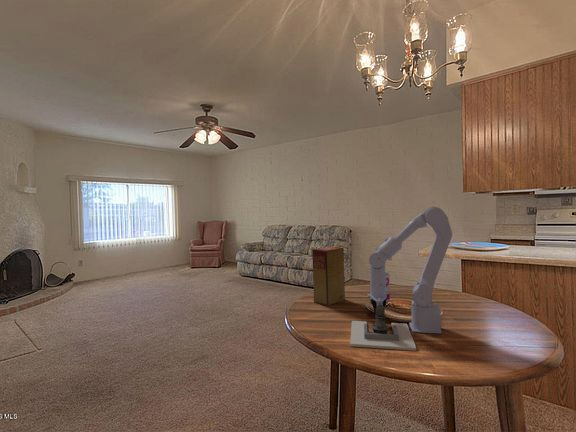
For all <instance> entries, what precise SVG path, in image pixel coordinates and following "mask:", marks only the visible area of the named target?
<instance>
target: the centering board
mask: <svg viewBox="0 0 576 432" xmlns="http://www.w3.org/2000/svg"><path fill="white" fill-rule="evenodd" d="M408 325H409V324H407V323H403V322H401V323H399V322H391V325H390V326H391V328H392V332H393V333H387V334H381V333H374V332H368V324H367V321H361V320H351V329H350V341H349V342H350V343H349V345H350V347H357V348H358V347H359V348H360V347H361V348H370V349H371V348H372V349H386V350H398V351H399V350H401V351H412V352H416V351H417V347H416V346H417V345H416V344H415V341H414V338H413V336H412V333H411V331H410V328H409V326H408Z"/></svg>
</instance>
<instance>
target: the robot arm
mask: <svg viewBox="0 0 576 432" xmlns="http://www.w3.org/2000/svg"><path fill="white" fill-rule="evenodd" d="M427 224H428V225H429V226H430V227H431V228H432V230H433V231H434V233H435V234H436V236H435V238H434V241H433V243H432V246H431V249H430V252H429V254H428V257H427V259H426V262H425V265H424V268H423V271H422V272H421V276H420V277H419V278H418V281H417V283H415V284H414V285H413V286H412V301H411V304H410V305H411V306H410V307H411V308H410V309H411V322H409V323H408V325H409V327H410V329H411V332H413V333H426V334H440V335H441V334H442V314H441V309H440V305H438V304H434V303H433V290H434V288H435V287H434V285H435V283H436V282H435V281H436V280H437V276H438V274H439V272H440V268H441V266H442V264H443V261H444V258H445V256H446V253H447V251H448V248H449V245H450V243H451V240H452V237H453V232H452V228H451V224H450V221H449V216H448V215H447V214H446V213H445V212H444V210H443V209H441V208H440V207H437V206H429V207H427V208H426V209H425V210H424V211H423V212H421V213H420V214H418V215H416V216H415V217H414V218H413V219H412V220H410V221H409V223H408V224H407V225H406V226H404V228H403V229H402V230H401V231H400V232H399V233H398V234H396V236H389V237H386V238H385V239H383V240H384V242H383V243H381V245H380V246H378V247H376V248H375V249H374V250H375V251H372V253H371V254H370V256H369V258H368V262H369V283H370V288H369V290H370V291H369V293H367V295H366V296H367V298H370V304H371V306H372V308H373V311H374V317H375V315H376V306H377V305H379V303H381V305H382V306H384V308H385V307H387V306H386V298H387V295H386V271H387V270H386V262H387V260H388V261H389V260H391V259H392V258H393V257H394V256H395V255H396V254H397V253H398V252H399V251H400V250H401V249H403V246H402V245H403V242H404V241H406V240H407V239H408V238H409V237H410V236H411V235H413V234H414V233H415V232H416V231H417V230H418V229H421V228H425V227H428V225H427ZM385 270H386V271H385ZM371 298H372V299H371ZM375 319H376V317H375Z"/></svg>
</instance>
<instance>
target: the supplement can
mask: <svg viewBox="0 0 576 432" xmlns="http://www.w3.org/2000/svg"><path fill="white" fill-rule="evenodd" d="M385 271H386V295H387V298H386V303H388V302H390V303H391V295H390V294H391V287H390V285H391V283H390V281H391V280H390V277H391V276H390V274H389V270H386V269H385ZM371 299H372V298H371V297H370V300H371Z"/></svg>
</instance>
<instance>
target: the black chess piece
mask: <svg viewBox="0 0 576 432" xmlns="http://www.w3.org/2000/svg"><path fill="white" fill-rule="evenodd" d="M374 317H376V318H375V323H374V324H372V325H371V328H372V331H373V333H381V334H389V330H390V326H389V325H388V324H386V317H387V316H386V313H385V308H384V306H382V305H381V303H379V305H377V306H376V315H375V314H374Z"/></svg>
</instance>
